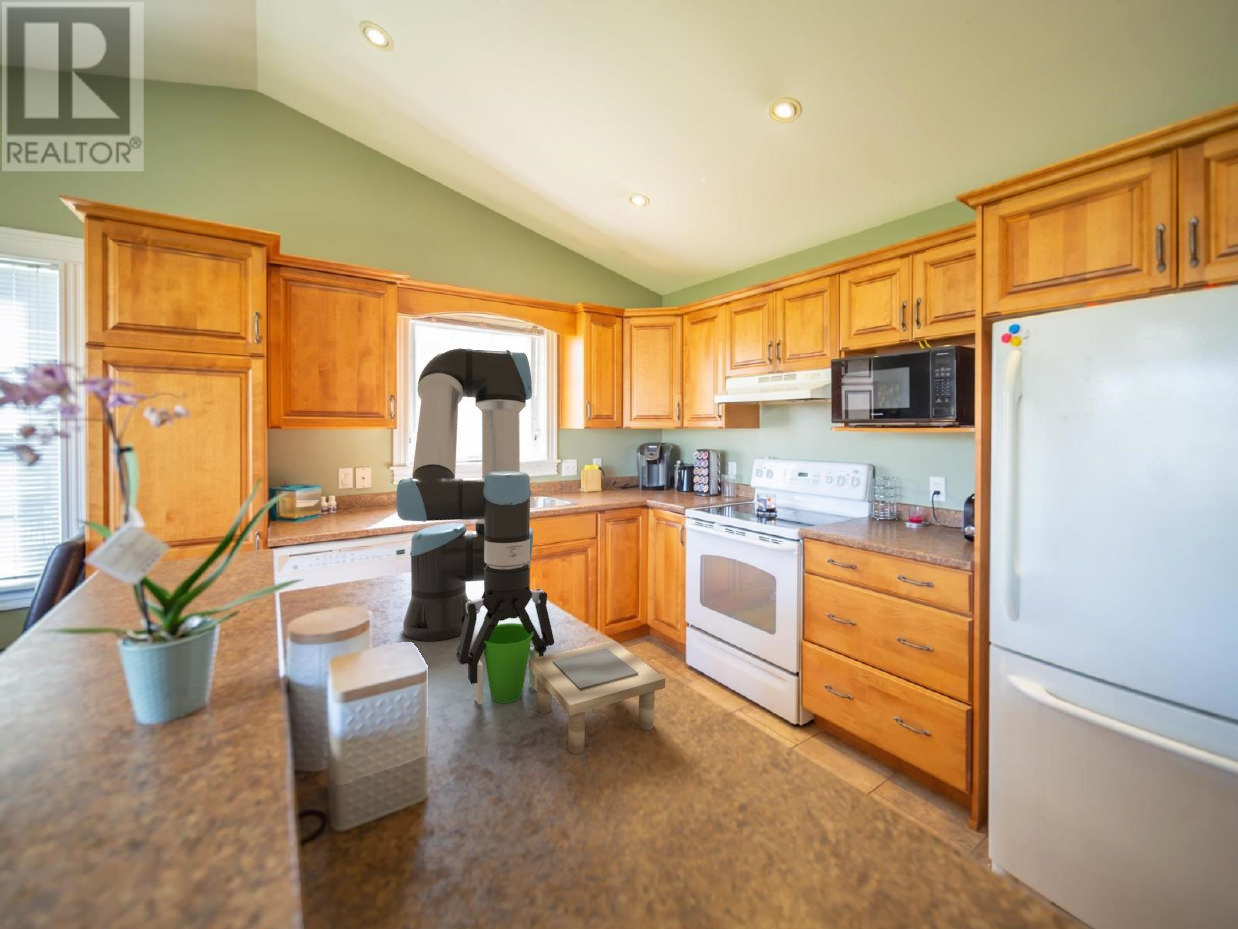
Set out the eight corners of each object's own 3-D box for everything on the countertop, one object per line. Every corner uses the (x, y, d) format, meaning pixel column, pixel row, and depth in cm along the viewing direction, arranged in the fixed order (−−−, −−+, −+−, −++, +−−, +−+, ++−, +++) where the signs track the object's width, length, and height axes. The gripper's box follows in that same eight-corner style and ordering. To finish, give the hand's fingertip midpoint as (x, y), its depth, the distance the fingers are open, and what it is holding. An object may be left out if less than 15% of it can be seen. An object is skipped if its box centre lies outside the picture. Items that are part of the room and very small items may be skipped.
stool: (528, 706, 85) (528, 657, 84) (612, 683, 93) (613, 638, 92) (569, 761, 71) (570, 703, 70) (664, 728, 79) (665, 676, 79)
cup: (521, 713, 83) (521, 646, 82) (469, 706, 85) (469, 641, 84) (541, 686, 92) (541, 625, 91) (493, 680, 93) (493, 621, 93)
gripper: (445, 577, 78) (446, 721, 79) (575, 561, 89) (573, 687, 90) (435, 566, 84) (436, 698, 86) (557, 551, 95) (556, 669, 97)
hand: (506, 692), depth 88 cm, fingers closed on cup, 9 cm apart
